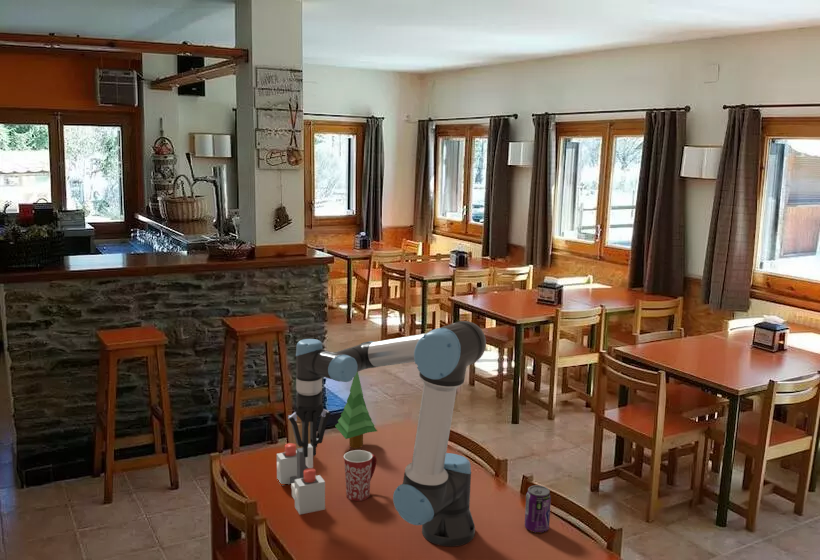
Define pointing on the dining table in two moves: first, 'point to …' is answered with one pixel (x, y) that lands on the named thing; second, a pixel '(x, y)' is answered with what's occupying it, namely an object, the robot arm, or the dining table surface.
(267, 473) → the dining table surface
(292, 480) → the rail
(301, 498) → the near cabinet
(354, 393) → the decorative tree
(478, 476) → the dining table surface
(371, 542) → the dining table surface
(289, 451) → the red push button
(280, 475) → the far cabinet
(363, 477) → the mug
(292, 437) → the decorative item
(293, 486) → the dark grey tall block
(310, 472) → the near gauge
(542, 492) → the beverage can
